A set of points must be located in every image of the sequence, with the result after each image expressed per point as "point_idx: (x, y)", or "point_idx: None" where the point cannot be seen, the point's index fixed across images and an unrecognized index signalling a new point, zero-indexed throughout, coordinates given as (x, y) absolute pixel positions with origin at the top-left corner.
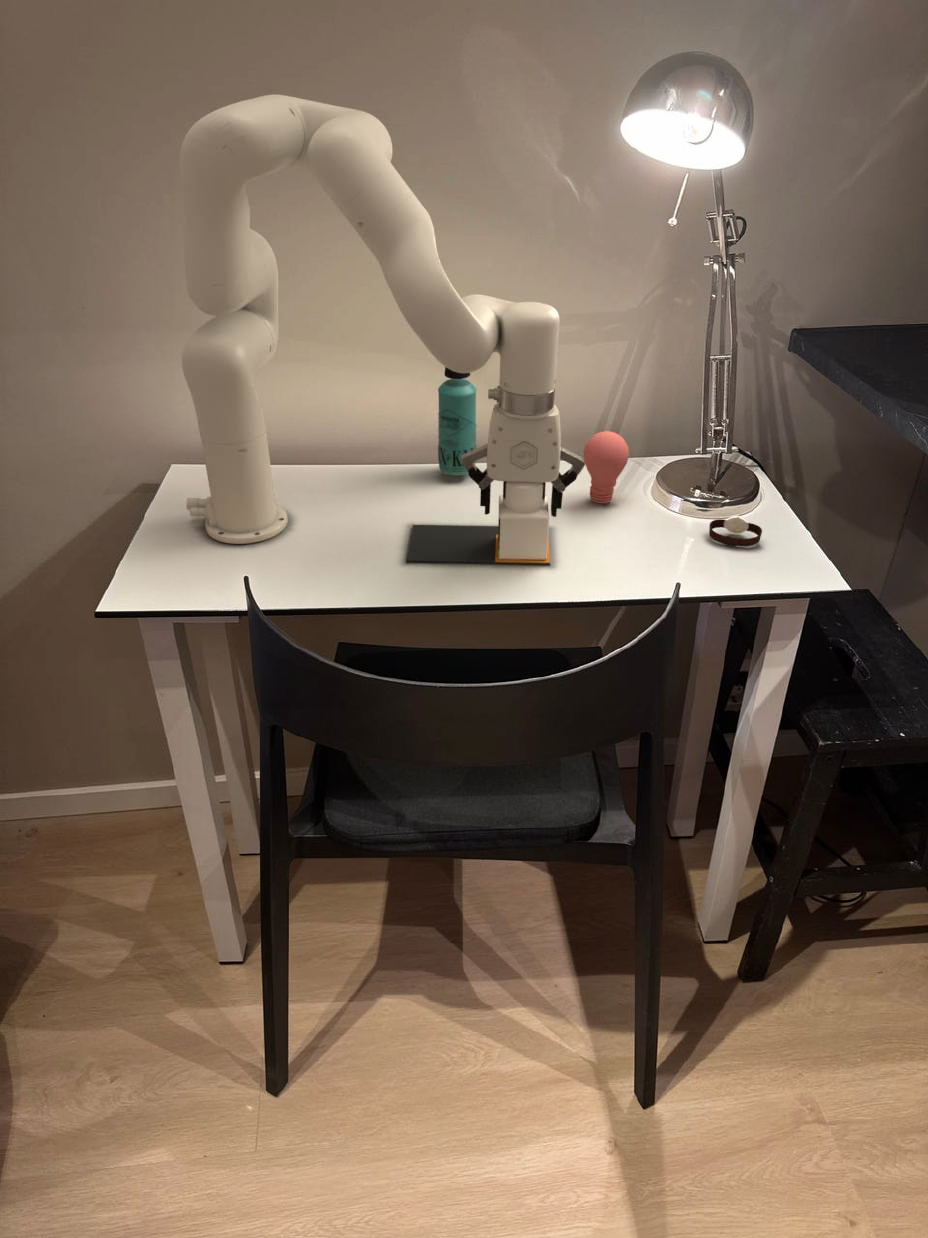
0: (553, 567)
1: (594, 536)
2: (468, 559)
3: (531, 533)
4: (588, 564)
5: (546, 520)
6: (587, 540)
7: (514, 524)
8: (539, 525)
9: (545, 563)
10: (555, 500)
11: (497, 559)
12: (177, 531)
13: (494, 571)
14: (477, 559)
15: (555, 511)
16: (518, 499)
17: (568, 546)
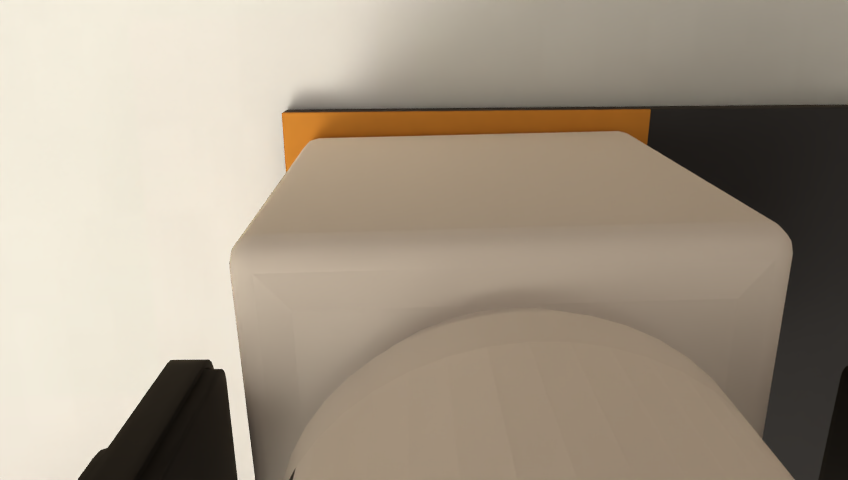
0: (262, 89)
1: (42, 456)
2: (820, 136)
3: (418, 184)
4: (36, 138)
5: (259, 227)
6: (77, 413)
7: (598, 207)
8: (341, 208)
9: (314, 110)
10: (116, 472)
11: (633, 136)
12: None
13: (653, 17)
14: (761, 139)
15: (164, 386)
16: (646, 390)
17: (184, 344)
